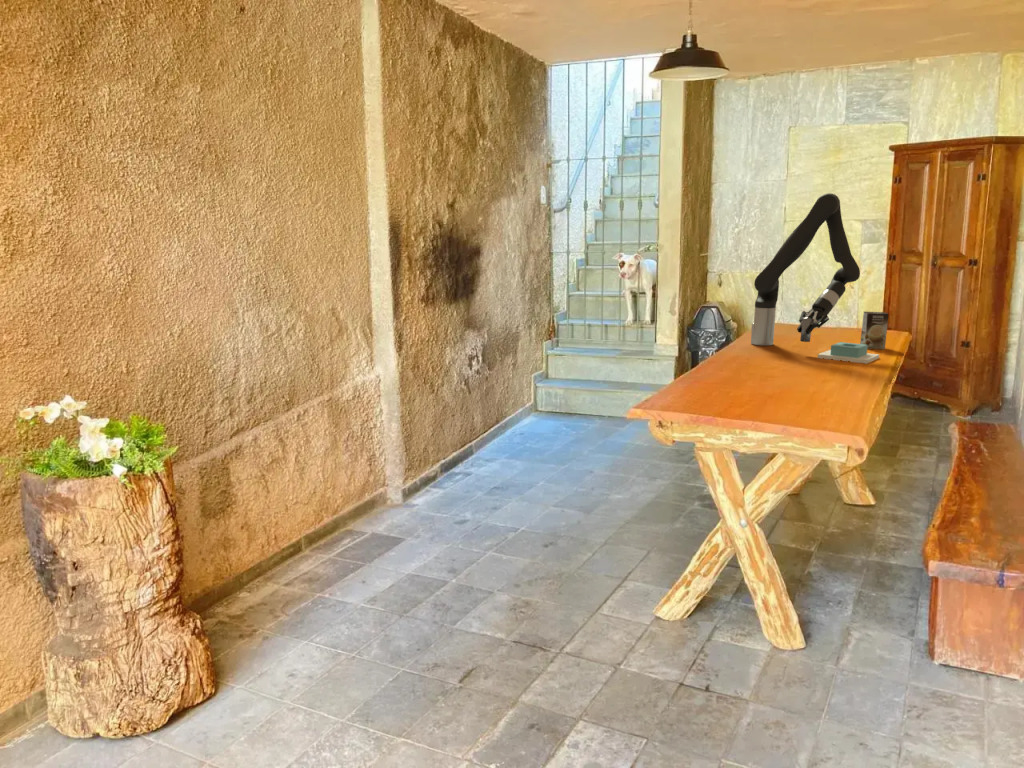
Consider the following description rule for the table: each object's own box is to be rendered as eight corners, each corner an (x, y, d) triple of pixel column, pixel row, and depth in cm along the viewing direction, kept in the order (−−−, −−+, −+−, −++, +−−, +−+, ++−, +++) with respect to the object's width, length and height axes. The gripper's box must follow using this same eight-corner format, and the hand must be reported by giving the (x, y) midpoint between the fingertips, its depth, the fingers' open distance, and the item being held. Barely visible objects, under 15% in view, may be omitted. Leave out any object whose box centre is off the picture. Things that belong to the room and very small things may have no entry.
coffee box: (864, 349, 359) (867, 313, 355) (859, 346, 365) (862, 311, 362) (885, 349, 358) (889, 313, 354) (880, 346, 364) (883, 311, 361)
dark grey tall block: (798, 341, 344) (800, 318, 342) (802, 339, 347) (804, 317, 345) (808, 342, 342) (810, 319, 340) (811, 341, 345) (813, 317, 343)
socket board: (817, 357, 338) (818, 345, 337) (831, 352, 350) (832, 340, 349) (866, 363, 326) (868, 350, 324) (879, 358, 337) (880, 345, 336)
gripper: (809, 294, 350) (786, 324, 347) (835, 298, 337) (811, 328, 335) (816, 306, 353) (794, 335, 351) (842, 310, 341) (819, 340, 338)
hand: (802, 331), depth 343 cm, fingers closed on dark grey tall block, 4 cm apart
